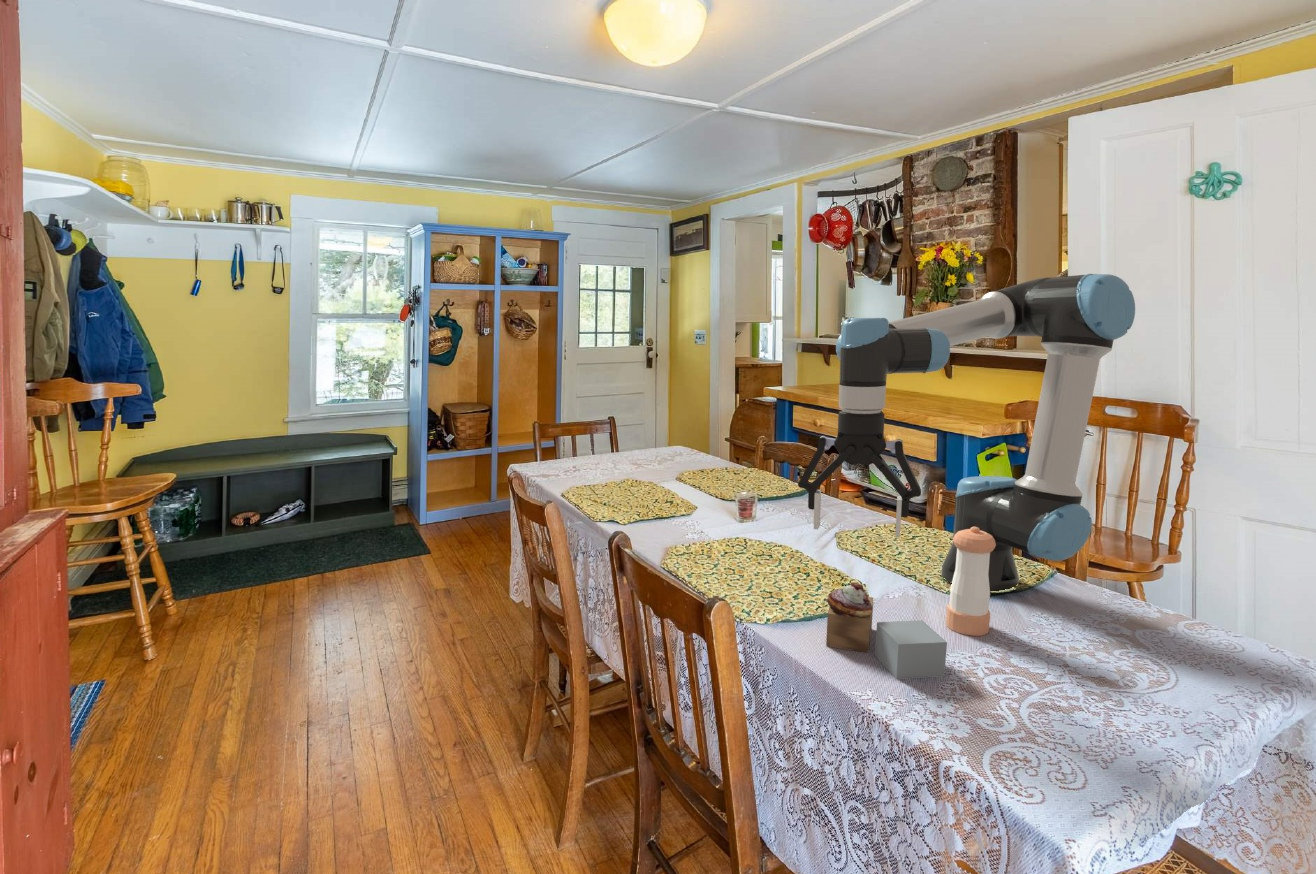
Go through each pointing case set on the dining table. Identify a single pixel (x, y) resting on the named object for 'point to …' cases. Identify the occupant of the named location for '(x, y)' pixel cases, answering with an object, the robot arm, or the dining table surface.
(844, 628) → the walnut block
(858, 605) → the pastry
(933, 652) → the slate block
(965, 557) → the pepper shaker
